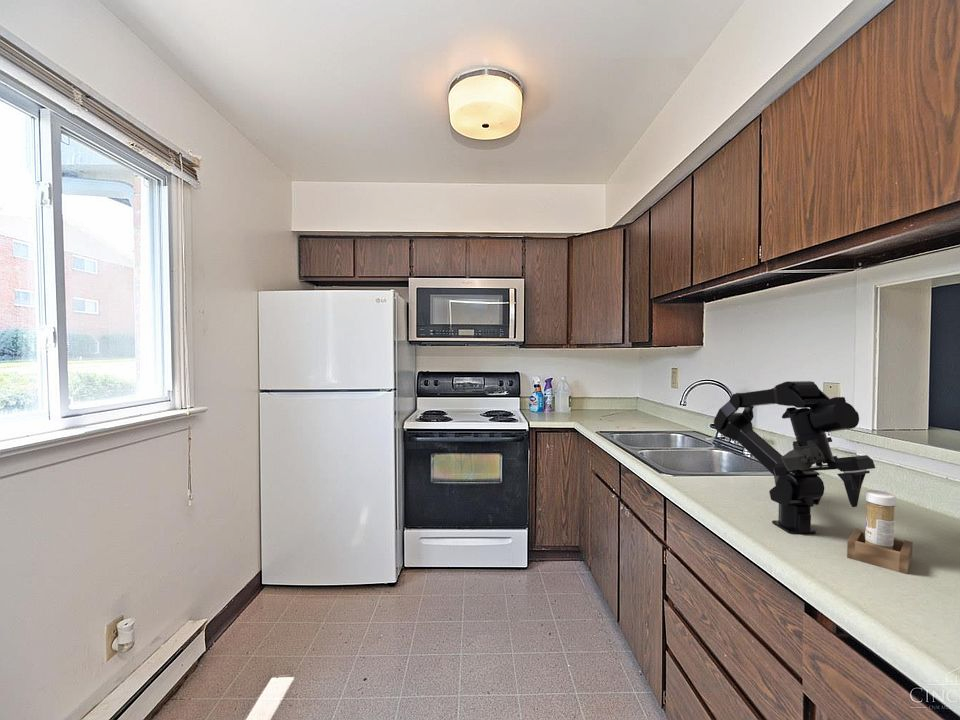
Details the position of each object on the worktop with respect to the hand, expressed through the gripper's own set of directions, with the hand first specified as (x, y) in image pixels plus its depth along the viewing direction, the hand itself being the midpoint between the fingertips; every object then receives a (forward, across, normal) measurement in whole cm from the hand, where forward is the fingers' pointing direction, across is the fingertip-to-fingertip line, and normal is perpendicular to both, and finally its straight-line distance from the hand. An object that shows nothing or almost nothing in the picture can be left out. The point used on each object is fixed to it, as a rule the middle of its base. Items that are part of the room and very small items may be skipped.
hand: (831, 506), depth 98 cm
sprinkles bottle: (+10, +4, +2) cm, 12 cm away
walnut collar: (+10, +5, +2) cm, 12 cm away
